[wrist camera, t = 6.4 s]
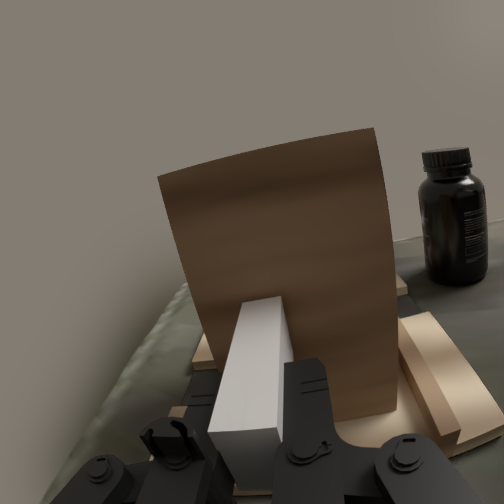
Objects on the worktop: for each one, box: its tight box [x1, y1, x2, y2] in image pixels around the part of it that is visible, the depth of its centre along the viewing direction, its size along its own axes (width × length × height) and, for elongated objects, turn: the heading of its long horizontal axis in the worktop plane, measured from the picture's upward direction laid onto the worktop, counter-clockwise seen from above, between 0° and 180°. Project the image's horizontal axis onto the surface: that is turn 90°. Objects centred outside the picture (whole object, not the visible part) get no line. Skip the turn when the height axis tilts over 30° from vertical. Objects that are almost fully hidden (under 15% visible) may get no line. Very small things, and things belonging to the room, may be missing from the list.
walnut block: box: [157, 128, 398, 423], centre depth 16 cm, size 8×8×13 cm
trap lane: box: [149, 272, 504, 495], centre depth 22 cm, size 24×18×4 cm
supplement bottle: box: [418, 147, 488, 285], centre depth 25 cm, size 7×7×12 cm
